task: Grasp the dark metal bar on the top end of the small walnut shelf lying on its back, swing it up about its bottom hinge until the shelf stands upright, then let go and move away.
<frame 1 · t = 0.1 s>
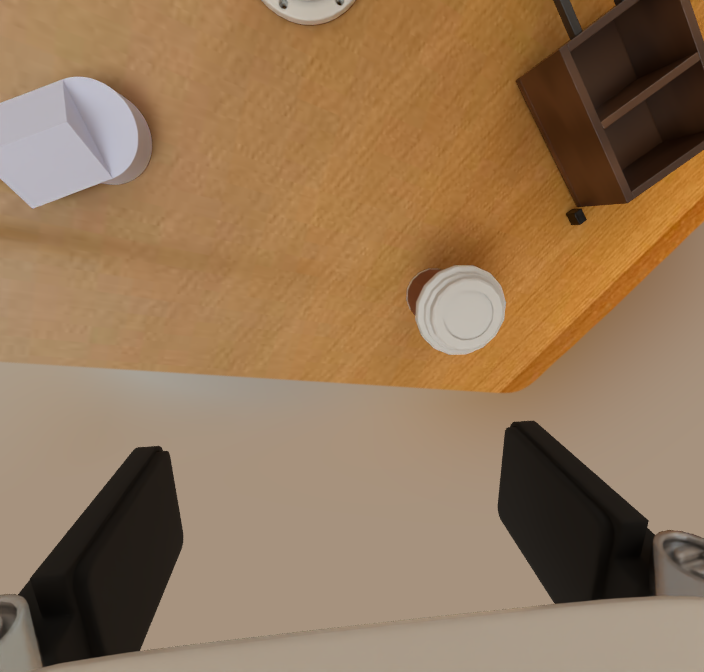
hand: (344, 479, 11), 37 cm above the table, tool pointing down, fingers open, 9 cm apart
wedge on round base: (89, 145, 40), on the table
shelf: (608, 78, 39), point 4 cm above the table, hinge at 0.0°
coffee cup: (431, 294, 48), on the table
pair of black blocks: (619, 179, 46), on the table
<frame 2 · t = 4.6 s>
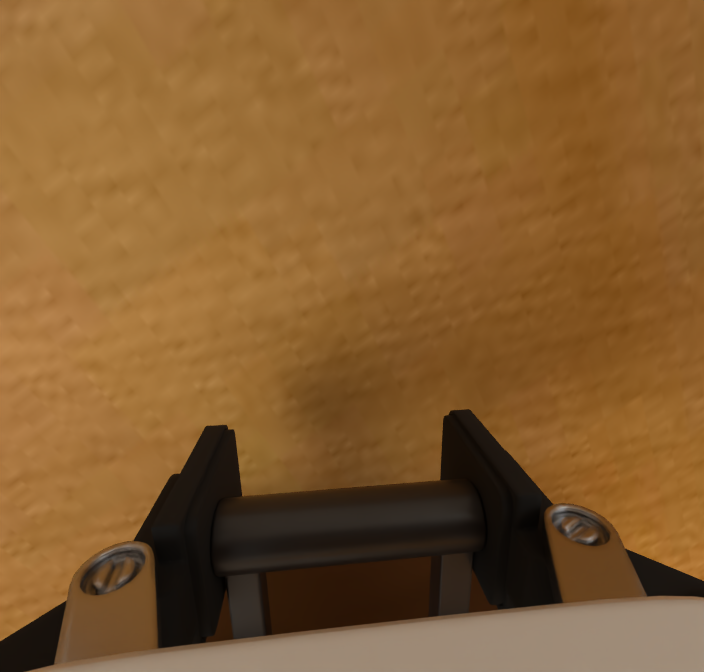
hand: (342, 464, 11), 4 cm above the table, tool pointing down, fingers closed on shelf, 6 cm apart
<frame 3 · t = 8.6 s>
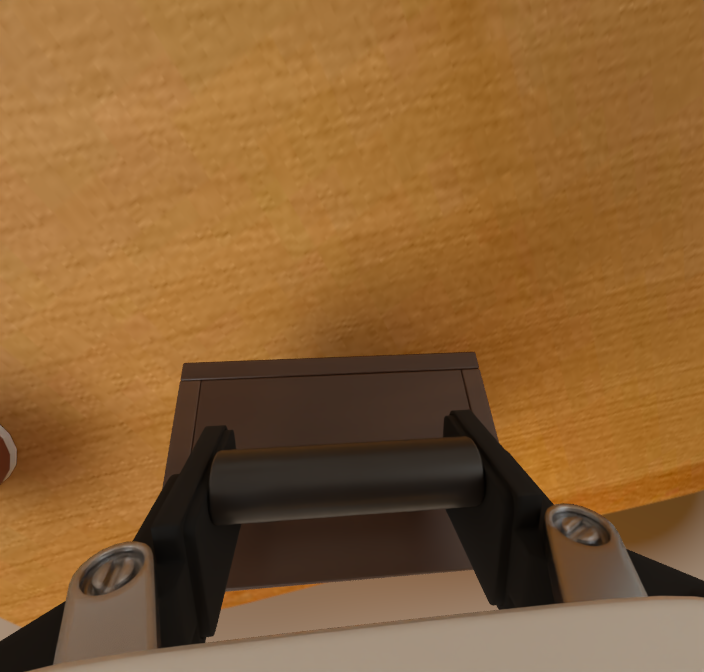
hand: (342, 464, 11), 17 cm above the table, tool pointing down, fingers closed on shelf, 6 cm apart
shelf: (336, 480, 18), point 11 cm above the table, hinge at 44.5°, touching gripper
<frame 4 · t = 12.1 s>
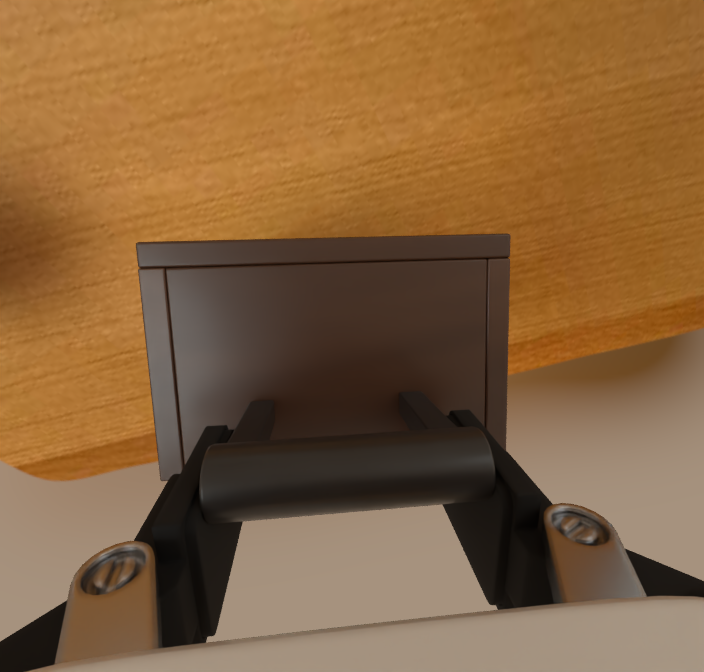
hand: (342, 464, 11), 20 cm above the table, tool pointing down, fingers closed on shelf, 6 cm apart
shelf: (329, 336, 18), point 12 cm above the table, hinge at 81.8°, touching gripper
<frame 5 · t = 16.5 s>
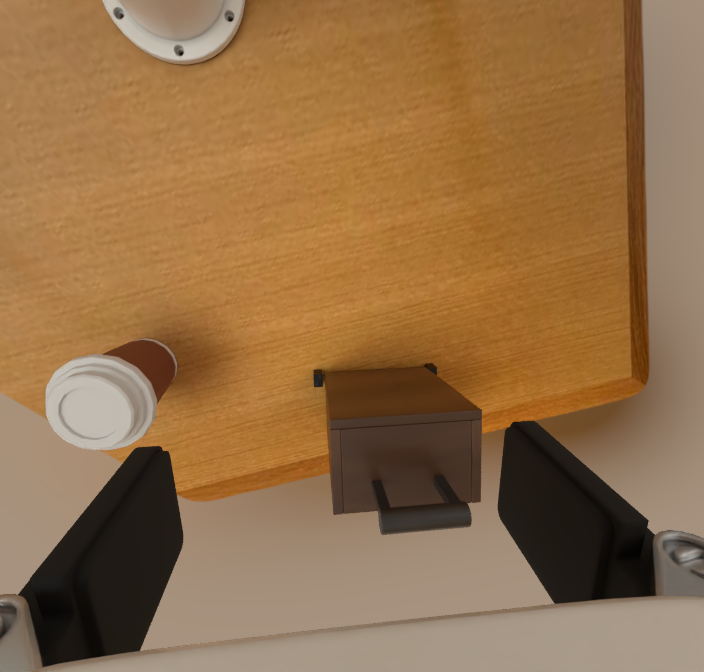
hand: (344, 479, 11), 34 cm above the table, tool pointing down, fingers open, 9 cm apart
shelf: (394, 436, 36), point 12 cm above the table, hinge at 82.0°
coffee cup: (148, 364, 44), on the table
pair of black blocks: (374, 369, 47), on the table
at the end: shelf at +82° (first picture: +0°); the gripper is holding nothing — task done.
